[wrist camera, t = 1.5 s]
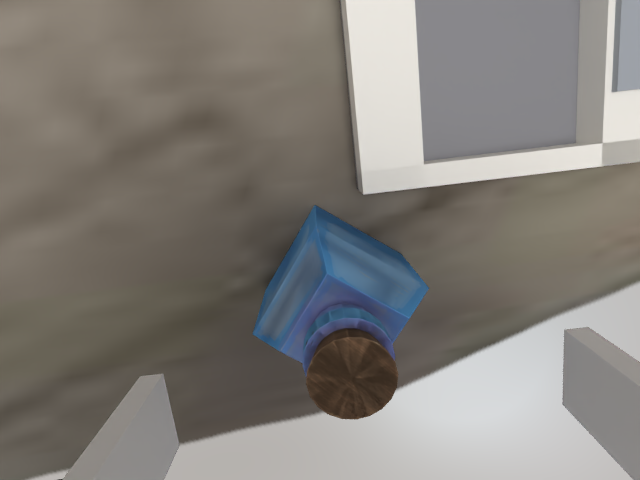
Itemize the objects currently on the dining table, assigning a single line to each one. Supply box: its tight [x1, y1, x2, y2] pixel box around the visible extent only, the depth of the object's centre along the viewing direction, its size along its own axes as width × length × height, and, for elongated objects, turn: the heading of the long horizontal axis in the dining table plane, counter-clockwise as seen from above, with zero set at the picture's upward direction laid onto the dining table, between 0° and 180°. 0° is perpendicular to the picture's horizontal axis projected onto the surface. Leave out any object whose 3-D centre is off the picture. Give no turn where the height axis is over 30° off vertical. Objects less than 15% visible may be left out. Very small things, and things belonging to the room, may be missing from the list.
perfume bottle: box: [253, 205, 429, 419], centre depth 20 cm, size 6×6×12 cm
